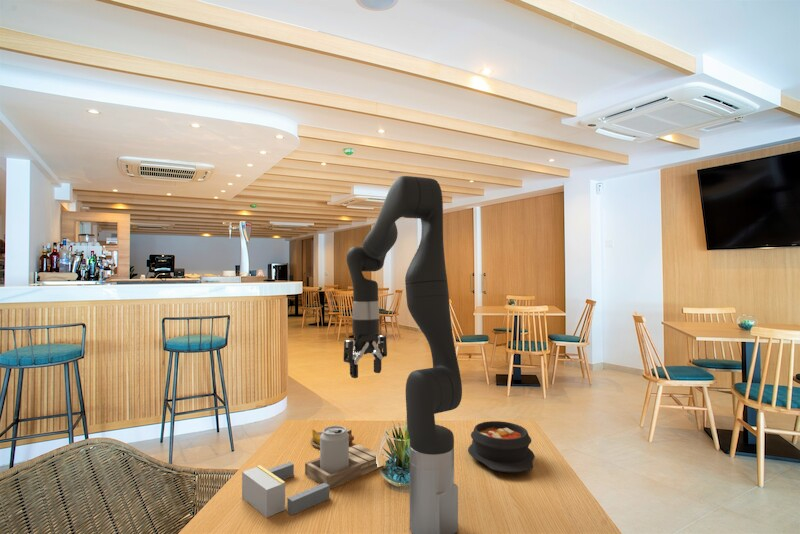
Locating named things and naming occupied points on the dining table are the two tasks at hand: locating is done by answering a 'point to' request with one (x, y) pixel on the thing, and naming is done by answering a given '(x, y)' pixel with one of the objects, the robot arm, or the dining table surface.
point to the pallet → (359, 465)
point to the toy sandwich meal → (316, 435)
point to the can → (334, 449)
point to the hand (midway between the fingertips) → (366, 375)
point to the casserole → (502, 446)
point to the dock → (278, 490)
